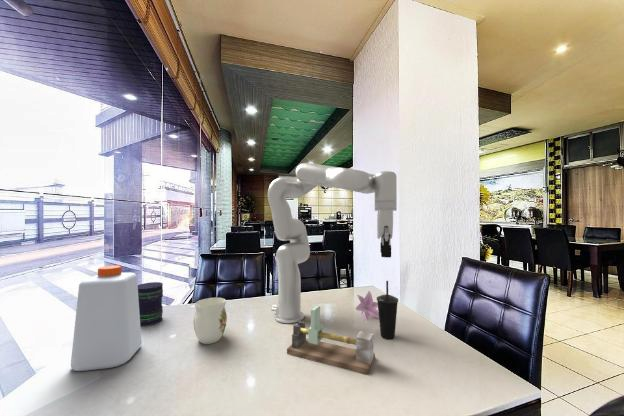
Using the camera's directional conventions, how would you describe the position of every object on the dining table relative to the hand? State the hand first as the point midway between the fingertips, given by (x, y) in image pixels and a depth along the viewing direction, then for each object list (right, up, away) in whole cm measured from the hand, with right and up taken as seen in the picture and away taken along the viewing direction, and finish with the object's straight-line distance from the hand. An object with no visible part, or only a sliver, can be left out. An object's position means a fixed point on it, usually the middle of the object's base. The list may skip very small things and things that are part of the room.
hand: (385, 254), depth 93 cm
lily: (-2, -31, +20) cm, 37 cm away
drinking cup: (+1, -30, +2) cm, 30 cm away
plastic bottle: (-89, -30, -11) cm, 95 cm away
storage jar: (-94, -31, +16) cm, 100 cm away
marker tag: (-25, -26, -9) cm, 37 cm away
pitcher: (-62, -30, +1) cm, 69 cm away
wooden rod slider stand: (-20, -30, -11) cm, 38 cm away
